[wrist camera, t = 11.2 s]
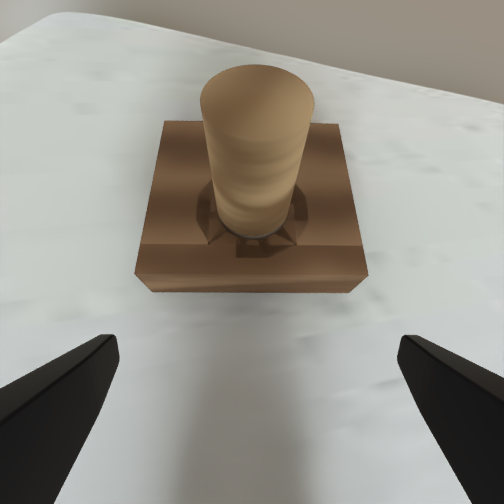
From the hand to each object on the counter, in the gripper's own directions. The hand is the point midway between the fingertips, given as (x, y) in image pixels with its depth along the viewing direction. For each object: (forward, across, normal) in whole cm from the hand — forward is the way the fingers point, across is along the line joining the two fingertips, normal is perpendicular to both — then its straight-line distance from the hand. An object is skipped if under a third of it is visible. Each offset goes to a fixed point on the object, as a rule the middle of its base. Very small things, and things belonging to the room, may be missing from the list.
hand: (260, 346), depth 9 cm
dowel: (+17, 0, +1) cm, 17 cm away
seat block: (+18, 0, -1) cm, 18 cm away
